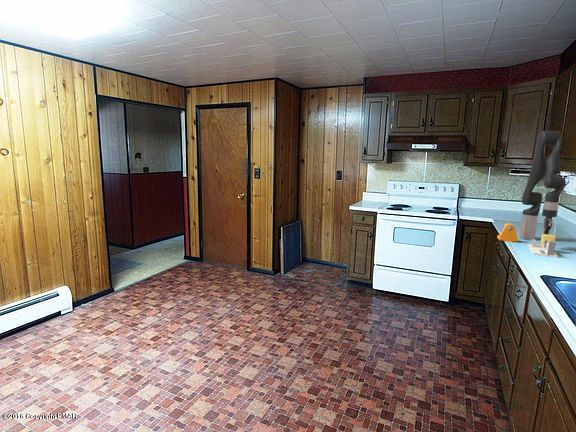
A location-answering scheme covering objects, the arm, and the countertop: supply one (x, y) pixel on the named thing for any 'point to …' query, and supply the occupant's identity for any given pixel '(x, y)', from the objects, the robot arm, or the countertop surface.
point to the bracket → (508, 234)
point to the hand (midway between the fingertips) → (545, 235)
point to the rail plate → (543, 248)
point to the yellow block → (547, 238)
